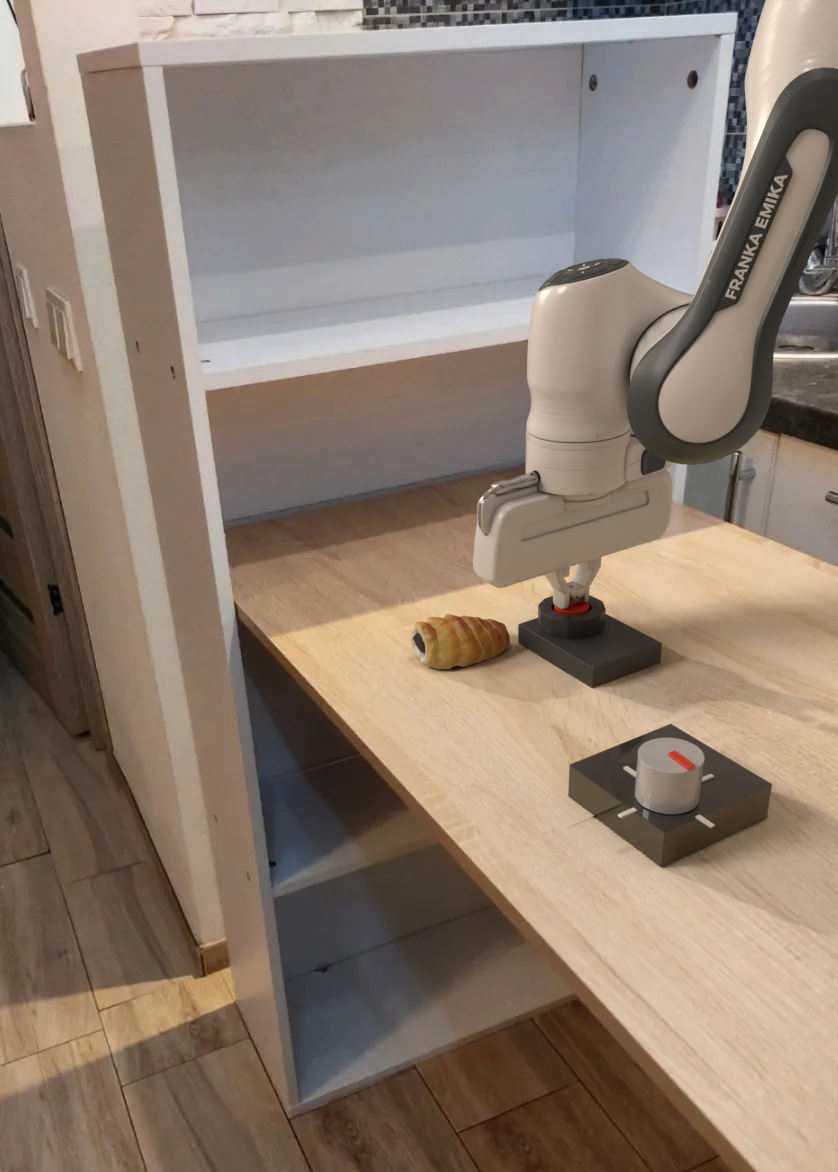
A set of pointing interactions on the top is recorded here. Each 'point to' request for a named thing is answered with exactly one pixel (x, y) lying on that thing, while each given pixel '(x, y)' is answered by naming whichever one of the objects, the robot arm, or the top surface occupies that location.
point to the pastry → (458, 640)
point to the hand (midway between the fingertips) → (570, 603)
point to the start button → (573, 609)
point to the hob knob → (669, 775)
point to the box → (588, 643)
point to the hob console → (666, 838)
